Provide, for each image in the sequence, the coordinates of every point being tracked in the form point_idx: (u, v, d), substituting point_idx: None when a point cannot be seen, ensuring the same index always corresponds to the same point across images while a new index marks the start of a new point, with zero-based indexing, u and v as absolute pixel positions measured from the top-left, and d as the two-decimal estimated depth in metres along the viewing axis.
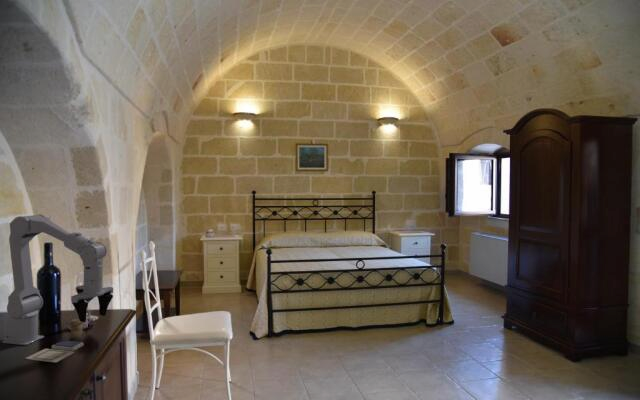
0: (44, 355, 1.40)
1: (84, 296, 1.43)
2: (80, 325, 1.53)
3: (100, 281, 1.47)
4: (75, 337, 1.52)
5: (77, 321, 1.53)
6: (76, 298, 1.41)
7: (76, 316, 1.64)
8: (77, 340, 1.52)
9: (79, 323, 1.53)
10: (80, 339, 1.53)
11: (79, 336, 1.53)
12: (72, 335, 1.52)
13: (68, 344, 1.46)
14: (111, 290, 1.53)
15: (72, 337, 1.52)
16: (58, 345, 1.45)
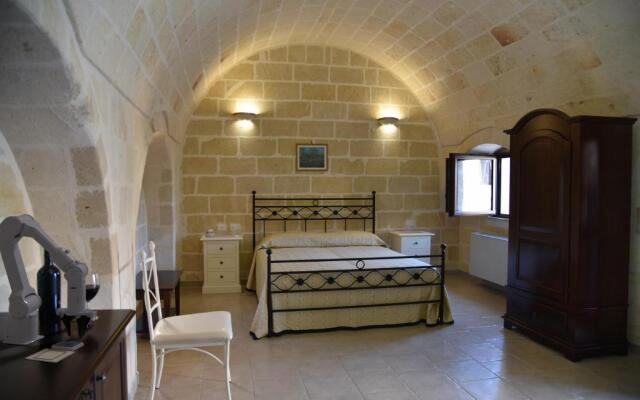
0: (44, 355, 1.40)
1: (62, 311, 1.53)
2: None
3: (72, 302, 1.50)
4: (75, 337, 1.52)
5: None
6: (57, 311, 1.54)
7: (76, 316, 1.64)
8: (77, 340, 1.52)
9: None
10: (80, 339, 1.53)
11: None
12: (72, 335, 1.52)
13: (68, 344, 1.46)
14: (90, 315, 1.51)
15: (72, 337, 1.52)
16: (58, 345, 1.45)
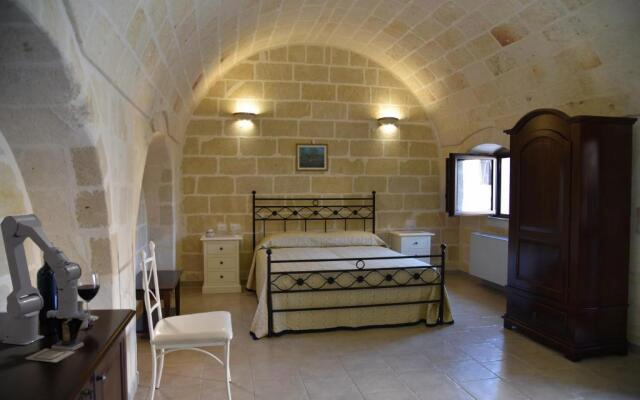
0: (44, 355, 1.40)
1: (52, 314, 1.46)
2: None
3: (63, 304, 1.44)
4: (67, 340, 1.46)
5: None
6: (47, 313, 1.47)
7: None
8: (70, 343, 1.46)
9: None
10: (73, 342, 1.47)
11: None
12: (64, 338, 1.46)
13: None
14: (82, 317, 1.45)
15: (64, 340, 1.46)
16: (58, 345, 1.45)
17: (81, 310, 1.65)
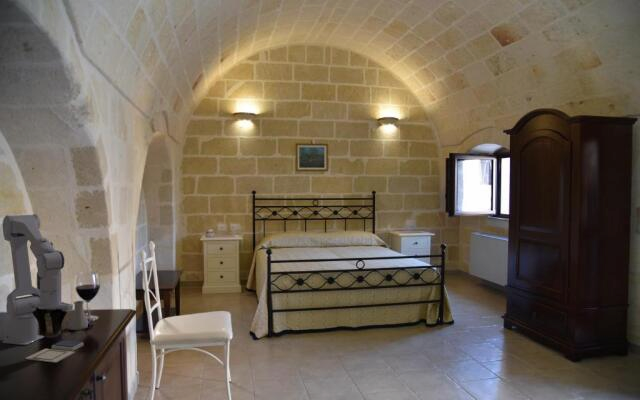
0: (44, 355, 1.40)
1: (34, 304, 1.38)
2: None
3: (45, 294, 1.36)
4: (51, 332, 1.39)
5: None
6: (29, 304, 1.39)
7: (76, 316, 1.64)
8: (54, 335, 1.39)
9: None
10: (57, 334, 1.40)
11: None
12: (48, 330, 1.39)
13: (68, 344, 1.46)
14: (66, 308, 1.37)
15: (48, 332, 1.39)
16: (58, 345, 1.45)
17: (81, 310, 1.65)
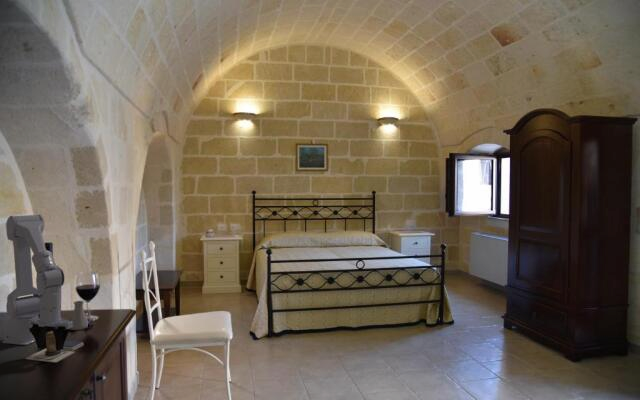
0: (44, 355, 1.40)
1: (34, 322, 1.38)
2: None
3: (45, 311, 1.36)
4: (51, 351, 1.39)
5: None
6: (29, 321, 1.39)
7: (76, 316, 1.64)
8: (54, 354, 1.39)
9: None
10: (57, 353, 1.40)
11: None
12: (48, 349, 1.39)
13: (68, 344, 1.46)
14: (65, 325, 1.37)
15: (48, 351, 1.39)
16: None
17: (81, 310, 1.65)
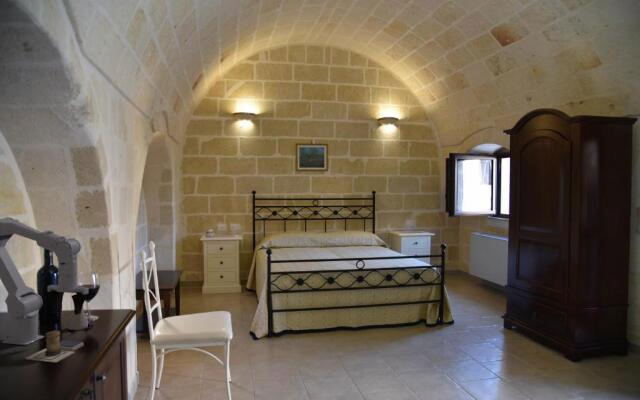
0: (44, 355, 1.40)
1: (53, 288, 1.49)
2: (57, 338, 1.40)
3: (63, 278, 1.47)
4: (52, 351, 1.39)
5: (53, 333, 1.40)
6: (48, 288, 1.50)
7: (76, 316, 1.64)
8: (54, 354, 1.39)
9: (56, 335, 1.39)
10: (57, 353, 1.40)
11: (56, 349, 1.40)
12: (48, 349, 1.39)
13: (68, 344, 1.46)
14: (82, 291, 1.48)
15: (48, 351, 1.39)
16: None
17: (81, 310, 1.65)
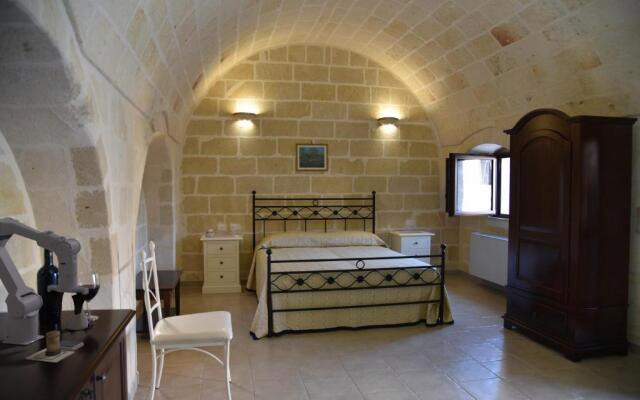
0: (44, 355, 1.40)
1: (53, 288, 1.49)
2: (57, 338, 1.40)
3: (63, 278, 1.47)
4: (52, 351, 1.39)
5: (53, 333, 1.40)
6: (48, 288, 1.50)
7: (76, 316, 1.64)
8: (54, 354, 1.39)
9: (56, 335, 1.39)
10: (57, 353, 1.40)
11: (56, 349, 1.40)
12: (48, 349, 1.39)
13: (68, 344, 1.46)
14: (82, 291, 1.48)
15: (48, 351, 1.39)
16: None
17: (81, 310, 1.65)
